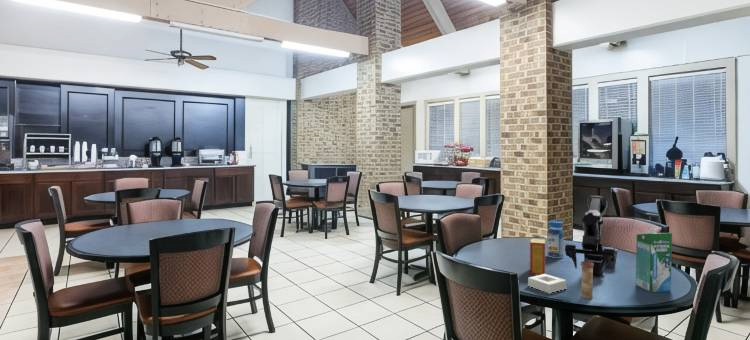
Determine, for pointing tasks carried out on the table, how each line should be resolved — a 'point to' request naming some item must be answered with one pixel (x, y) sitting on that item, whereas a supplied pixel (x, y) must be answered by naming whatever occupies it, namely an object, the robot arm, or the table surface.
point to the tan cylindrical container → (587, 279)
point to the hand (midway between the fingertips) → (588, 269)
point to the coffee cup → (613, 263)
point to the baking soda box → (537, 256)
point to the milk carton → (654, 261)
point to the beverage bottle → (555, 240)
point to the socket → (547, 283)
